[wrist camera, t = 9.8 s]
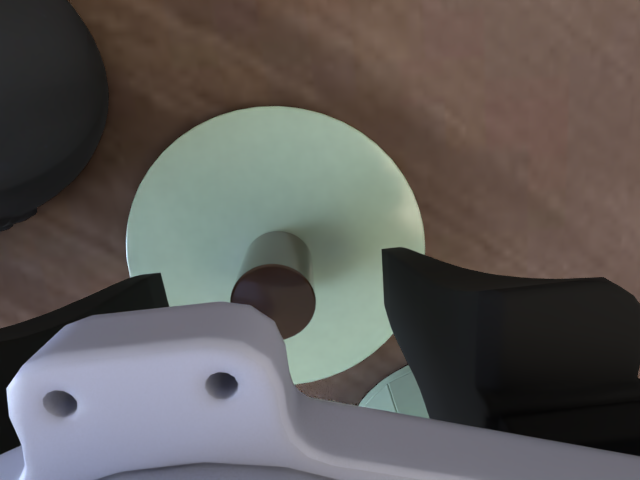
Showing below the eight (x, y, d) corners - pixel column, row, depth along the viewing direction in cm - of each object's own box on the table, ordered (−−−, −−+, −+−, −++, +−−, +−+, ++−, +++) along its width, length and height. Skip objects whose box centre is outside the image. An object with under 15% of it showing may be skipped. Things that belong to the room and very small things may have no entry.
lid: (171, 383, 18) (130, 469, 14) (102, 122, 14) (18, 128, 10) (419, 355, 18) (456, 431, 14) (415, 91, 14) (463, 83, 10)
